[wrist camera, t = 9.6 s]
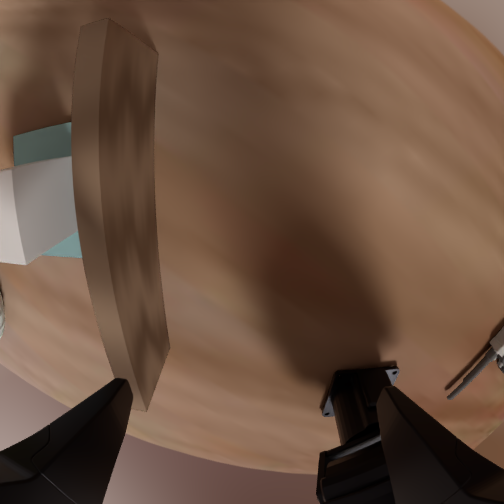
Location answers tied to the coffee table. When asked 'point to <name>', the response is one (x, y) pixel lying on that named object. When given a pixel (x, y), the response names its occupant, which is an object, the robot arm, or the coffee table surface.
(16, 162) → the teal mat
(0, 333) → the vase
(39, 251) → the white rectangular block
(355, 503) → the robot arm
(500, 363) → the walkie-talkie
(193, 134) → the coffee table surface
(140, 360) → the walnut screen
